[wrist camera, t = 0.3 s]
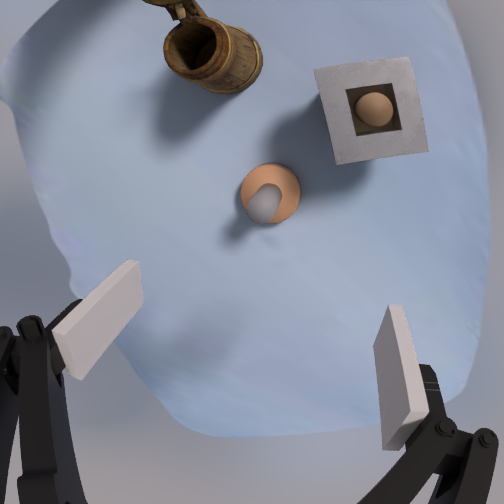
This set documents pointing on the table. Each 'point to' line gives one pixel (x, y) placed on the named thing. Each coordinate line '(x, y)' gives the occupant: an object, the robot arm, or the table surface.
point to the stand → (370, 109)
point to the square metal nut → (397, 91)
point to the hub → (270, 193)
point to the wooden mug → (209, 49)
